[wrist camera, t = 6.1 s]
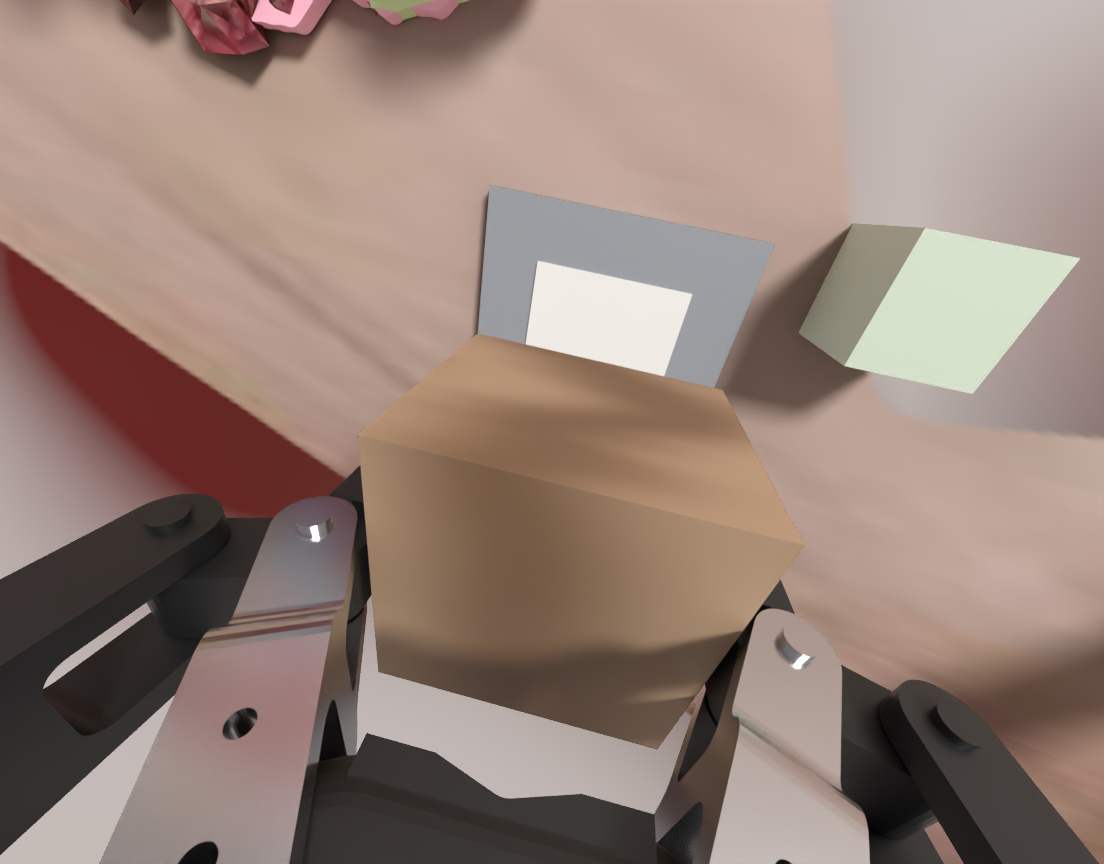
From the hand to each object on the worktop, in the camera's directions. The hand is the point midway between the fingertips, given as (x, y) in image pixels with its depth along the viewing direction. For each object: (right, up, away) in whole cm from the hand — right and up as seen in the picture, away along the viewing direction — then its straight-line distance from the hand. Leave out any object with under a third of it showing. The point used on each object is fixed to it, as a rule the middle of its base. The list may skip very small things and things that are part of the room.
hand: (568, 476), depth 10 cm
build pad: (+2, +5, +10) cm, 11 cm away
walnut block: (0, 0, +1) cm, 1 cm away
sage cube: (+13, +7, +7) cm, 17 cm away
